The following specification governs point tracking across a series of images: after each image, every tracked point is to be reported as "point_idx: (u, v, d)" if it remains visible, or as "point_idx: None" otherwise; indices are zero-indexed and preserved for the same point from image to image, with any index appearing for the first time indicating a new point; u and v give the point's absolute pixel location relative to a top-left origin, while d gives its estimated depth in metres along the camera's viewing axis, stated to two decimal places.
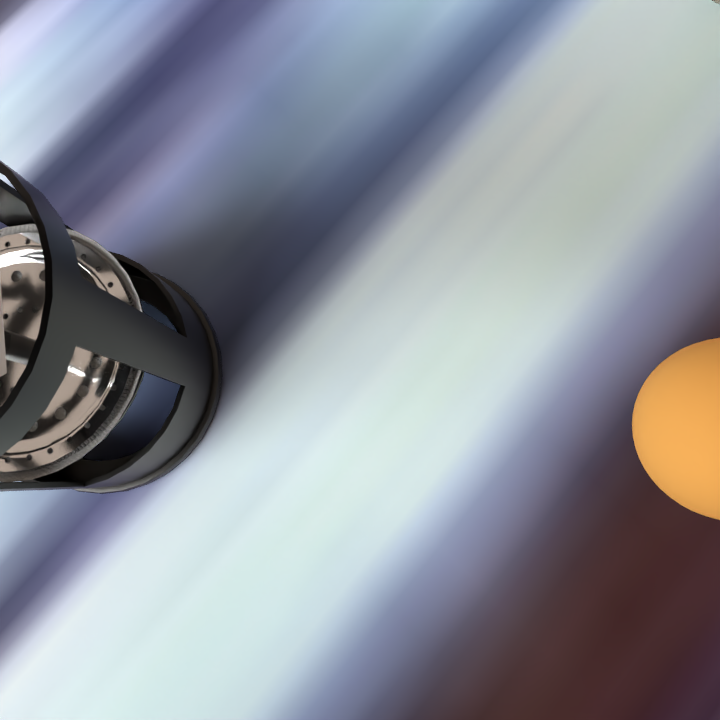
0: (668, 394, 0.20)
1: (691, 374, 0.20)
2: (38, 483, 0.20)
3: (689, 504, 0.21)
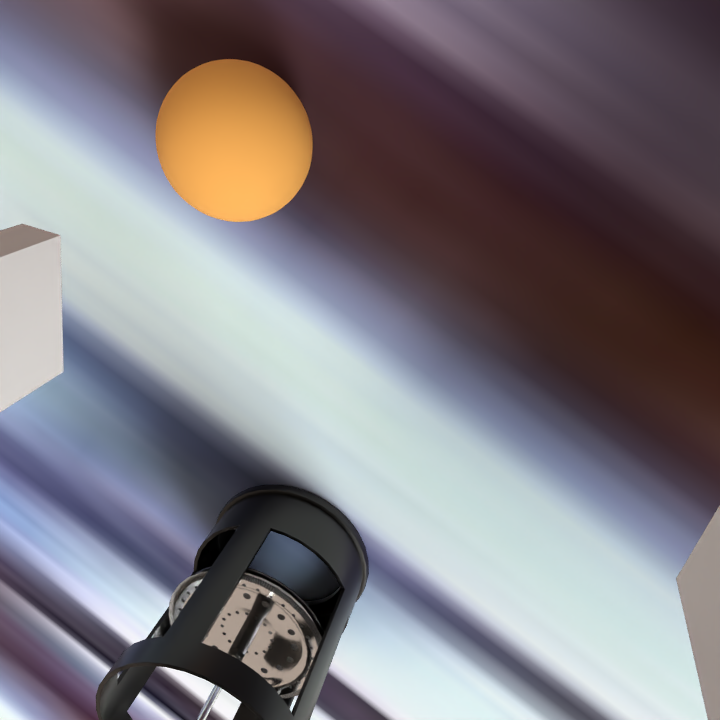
0: (208, 214, 0.25)
1: (187, 201, 0.25)
2: (325, 630, 0.31)
3: (295, 185, 0.25)
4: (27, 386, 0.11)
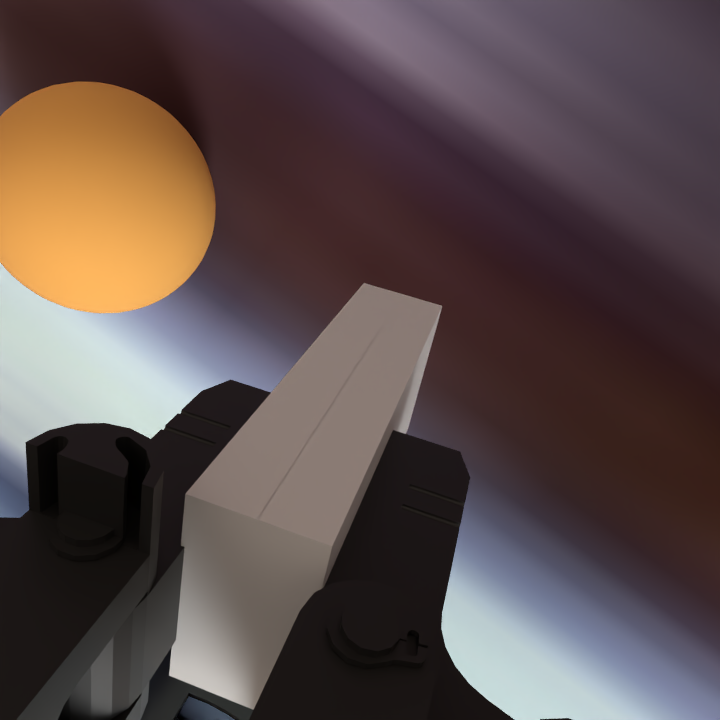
0: None
1: (28, 287, 0.17)
2: None
3: (185, 264, 0.17)
4: None
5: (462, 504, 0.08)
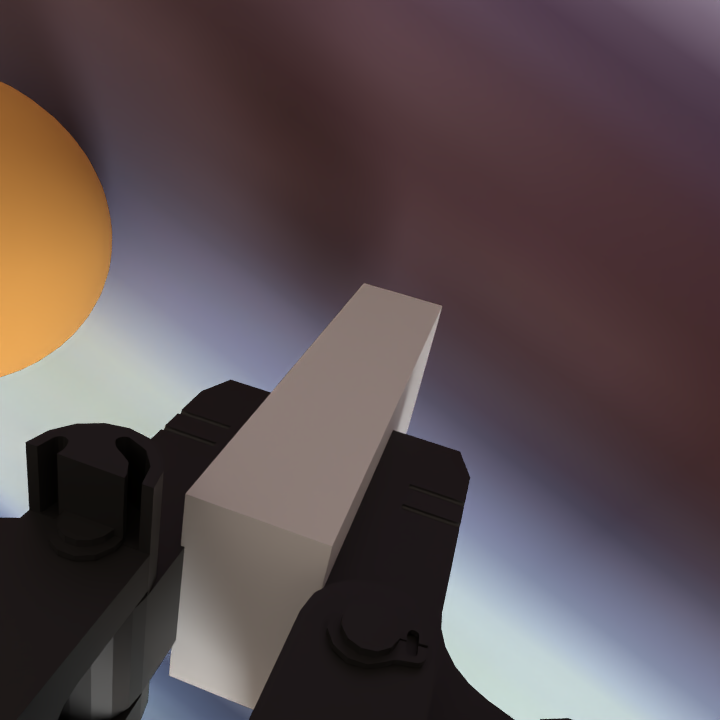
0: None
1: None
2: None
3: None
4: None
5: (462, 504, 0.08)
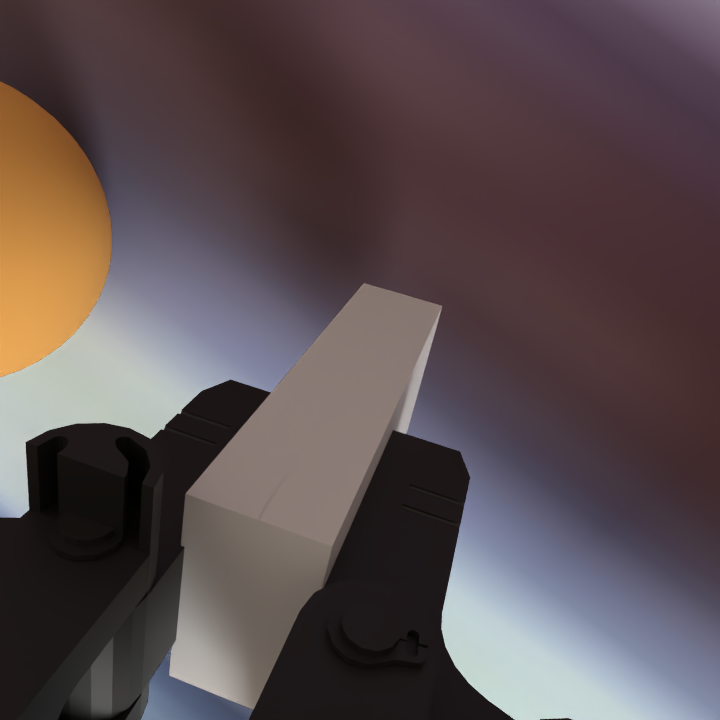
0: None
1: None
2: None
3: None
4: None
5: (462, 504, 0.08)
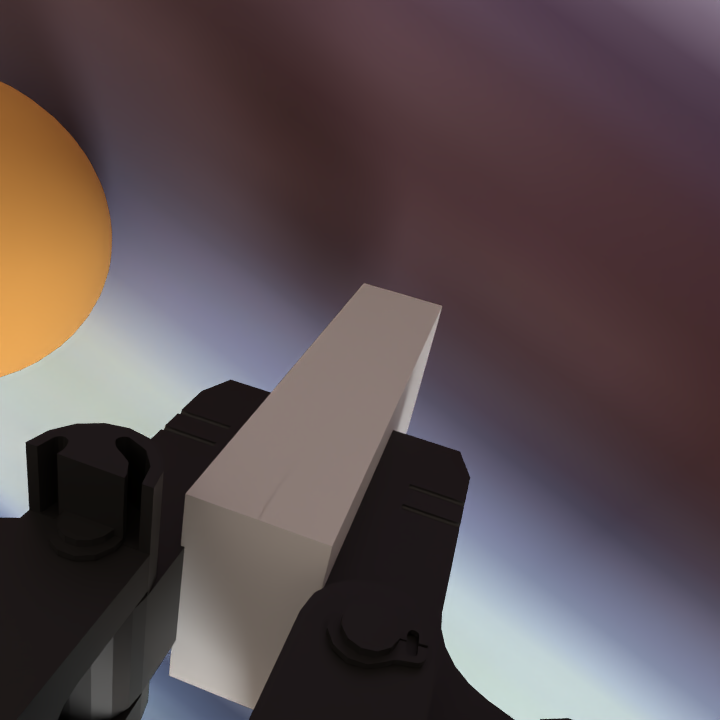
0: None
1: None
2: None
3: None
4: None
5: (462, 504, 0.08)
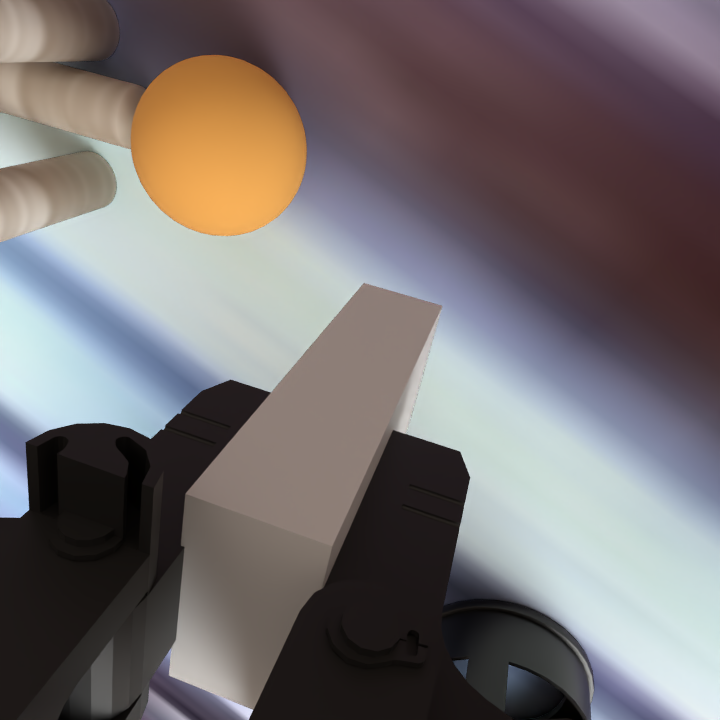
0: None
1: None
2: None
3: None
4: None
5: (462, 504, 0.08)
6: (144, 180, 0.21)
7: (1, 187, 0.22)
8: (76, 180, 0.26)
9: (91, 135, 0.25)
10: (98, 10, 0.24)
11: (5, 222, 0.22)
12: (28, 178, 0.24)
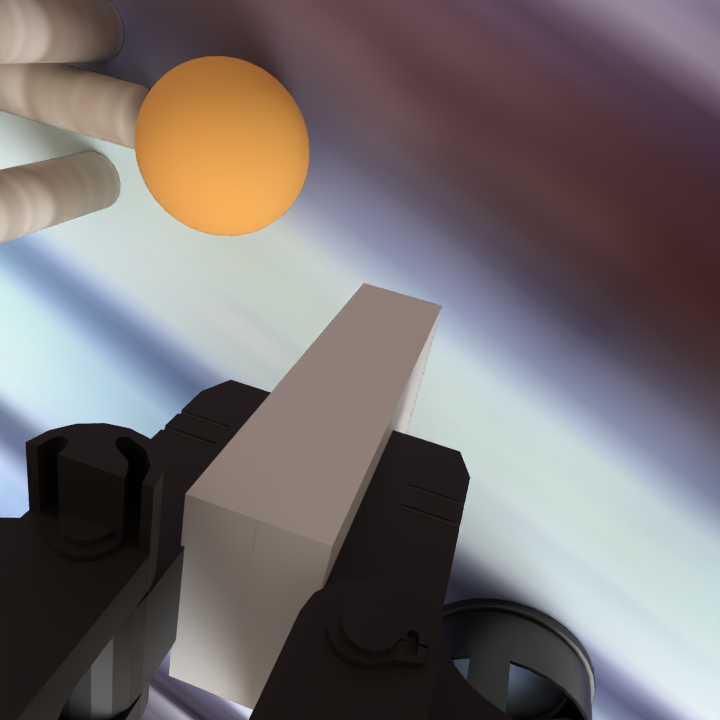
0: None
1: None
2: None
3: None
4: None
5: (462, 504, 0.08)
6: (148, 180, 0.22)
7: (6, 187, 0.22)
8: (80, 180, 0.26)
9: (95, 134, 0.25)
10: (103, 12, 0.24)
11: (9, 222, 0.22)
12: (33, 177, 0.24)
